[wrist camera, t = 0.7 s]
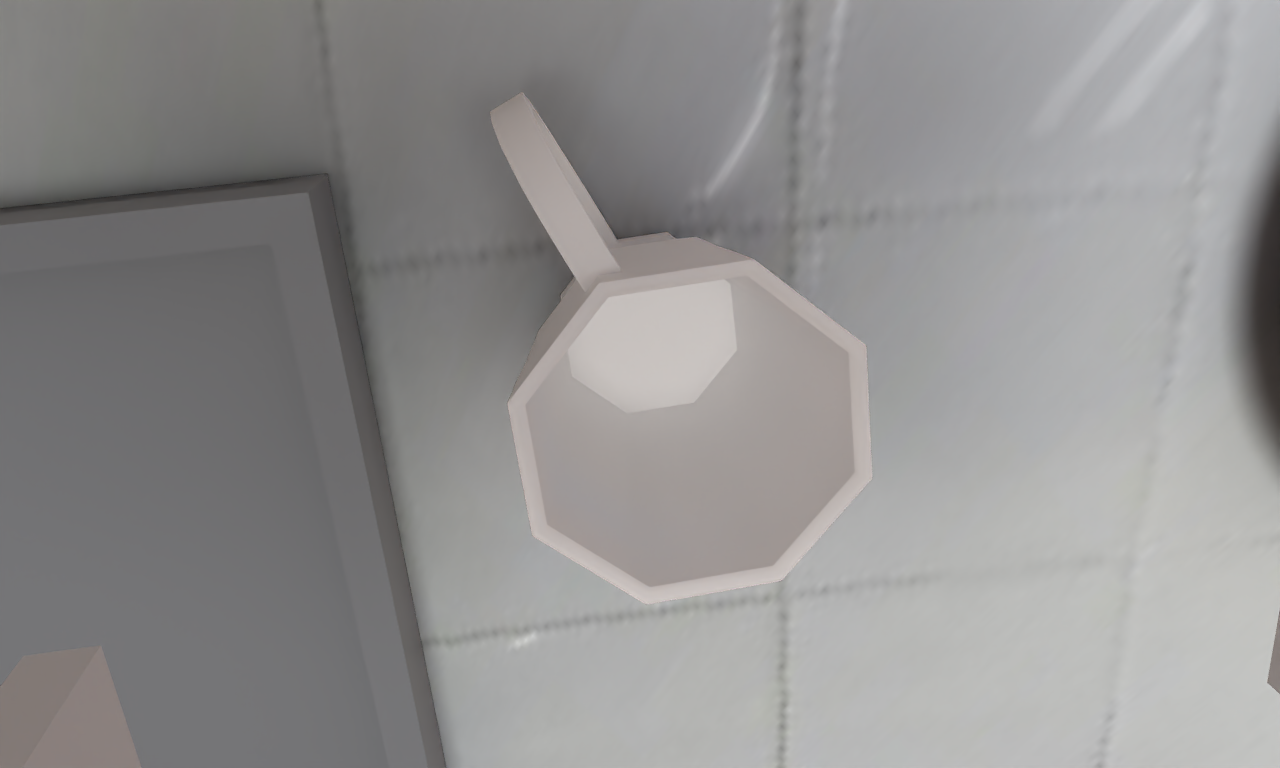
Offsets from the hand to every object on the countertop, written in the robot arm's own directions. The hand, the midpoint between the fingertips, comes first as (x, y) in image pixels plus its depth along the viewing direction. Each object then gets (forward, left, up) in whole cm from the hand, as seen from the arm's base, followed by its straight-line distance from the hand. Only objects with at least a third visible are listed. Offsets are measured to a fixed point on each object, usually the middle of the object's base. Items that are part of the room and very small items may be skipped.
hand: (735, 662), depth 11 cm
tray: (+6, -14, -15) cm, 22 cm away
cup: (-1, 0, -16) cm, 16 cm away
